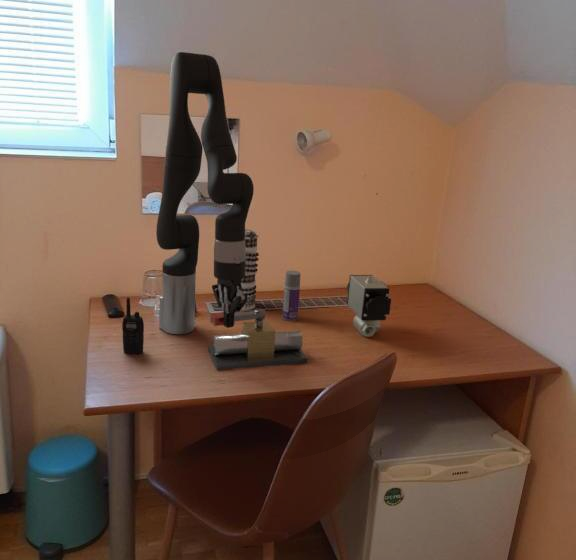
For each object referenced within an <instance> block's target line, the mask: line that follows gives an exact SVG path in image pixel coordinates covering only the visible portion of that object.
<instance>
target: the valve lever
mask: <svg viewBox="0 0 576 560" xmlns="http://www.w3.org/2000/svg"><path fill="white" fill-rule="evenodd" d="M266 312H267V311H266V310H265V309H264V308H253V310H250V311H249V310H248V311H243V312H241V311H240V312H235V314H234V323H235V322H239V321H241V322H242V321H249V320H255V319H256V320H263V321H264V320H265V319H266ZM209 318H210V319H209V322H210V324H212V325H213V326H214V327H218V326H224V325H223V312H219V313H212V314H211V313H210V315H209Z"/></svg>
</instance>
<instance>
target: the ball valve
mask: <svg viewBox="0 0 576 560" xmlns="http://www.w3.org/2000/svg"><path fill="white" fill-rule="evenodd" d="M346 291H347V298H346V299H347V300H346V305H347V306H348V307H349V309H350V310H352V311H353V312H354V314H356V315H355V316H354V318H352V319H353V320H352V322H353V326H354V328H355V329H357V330H358V332H359V333H360V334H361V335H362V336H364V337H366V338H367V337H368V338H369V337H370V338H371V337H373V336H374V335H375V333H376V332H380V330H381V327H382V325H381V321H386V318H387V315H390V312H391V304H392V303H391V302H392V298H390V297H389V296H390V288H389V287H388V286H387V283H385V282H384V280H383V281H382V280H379V279H378V278H376V277H375V276H374V275H373V274H350V275H349V280H348V284H347V286H346Z"/></svg>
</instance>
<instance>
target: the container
mask: <svg viewBox="0 0 576 560" xmlns="http://www.w3.org/2000/svg"><path fill="white" fill-rule="evenodd" d="M284 279H285V281H284V291H283V306H282V320H285V321H287V322H296V321H297V320H298V316H299V305H300V303H299V302H300V292H301V291H300V290H301V272H300V271H297V270H287V271H285V278H284Z"/></svg>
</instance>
